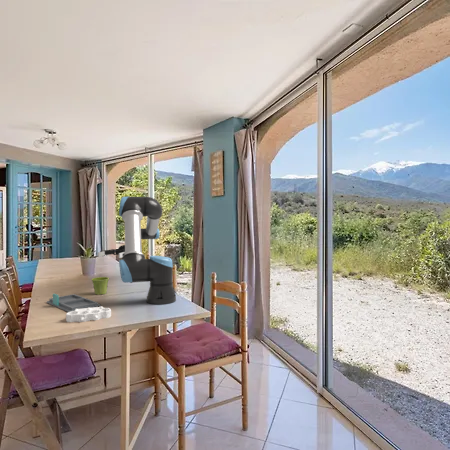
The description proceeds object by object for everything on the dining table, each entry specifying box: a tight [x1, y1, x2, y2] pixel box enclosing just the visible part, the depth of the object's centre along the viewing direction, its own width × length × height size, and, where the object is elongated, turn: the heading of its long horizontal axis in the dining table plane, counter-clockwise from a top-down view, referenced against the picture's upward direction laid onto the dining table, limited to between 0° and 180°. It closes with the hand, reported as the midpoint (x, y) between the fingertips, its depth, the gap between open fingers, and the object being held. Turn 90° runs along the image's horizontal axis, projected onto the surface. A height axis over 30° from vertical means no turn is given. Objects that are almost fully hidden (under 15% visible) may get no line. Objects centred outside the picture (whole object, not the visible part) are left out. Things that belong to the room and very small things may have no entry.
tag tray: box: [46, 293, 101, 313], centre depth 163 cm, size 27×15×6 cm, turn 49°
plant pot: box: [91, 276, 110, 296], centre depth 186 cm, size 9×9×9 cm
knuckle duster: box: [65, 306, 112, 323], centre depth 143 cm, size 3×18×15 cm
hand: (108, 255), depth 194 cm, fingers open, 13 cm apart
